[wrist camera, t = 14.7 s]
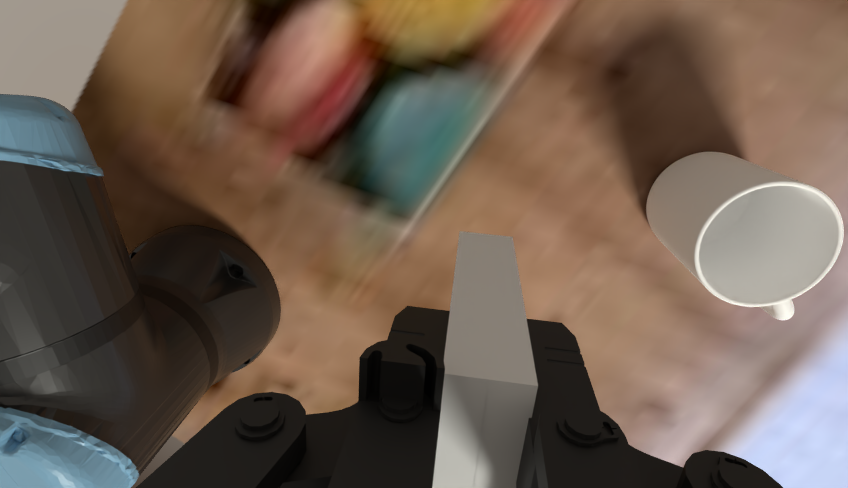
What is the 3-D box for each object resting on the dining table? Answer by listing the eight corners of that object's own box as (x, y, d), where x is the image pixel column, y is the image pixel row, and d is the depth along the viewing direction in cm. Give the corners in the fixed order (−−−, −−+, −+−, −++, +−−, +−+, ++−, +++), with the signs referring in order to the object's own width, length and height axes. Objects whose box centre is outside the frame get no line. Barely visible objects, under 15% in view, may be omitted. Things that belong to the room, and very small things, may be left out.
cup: (730, 128, 36) (818, 154, 27) (785, 254, 39) (881, 317, 30) (626, 183, 38) (672, 224, 29) (685, 298, 41) (744, 369, 32)
